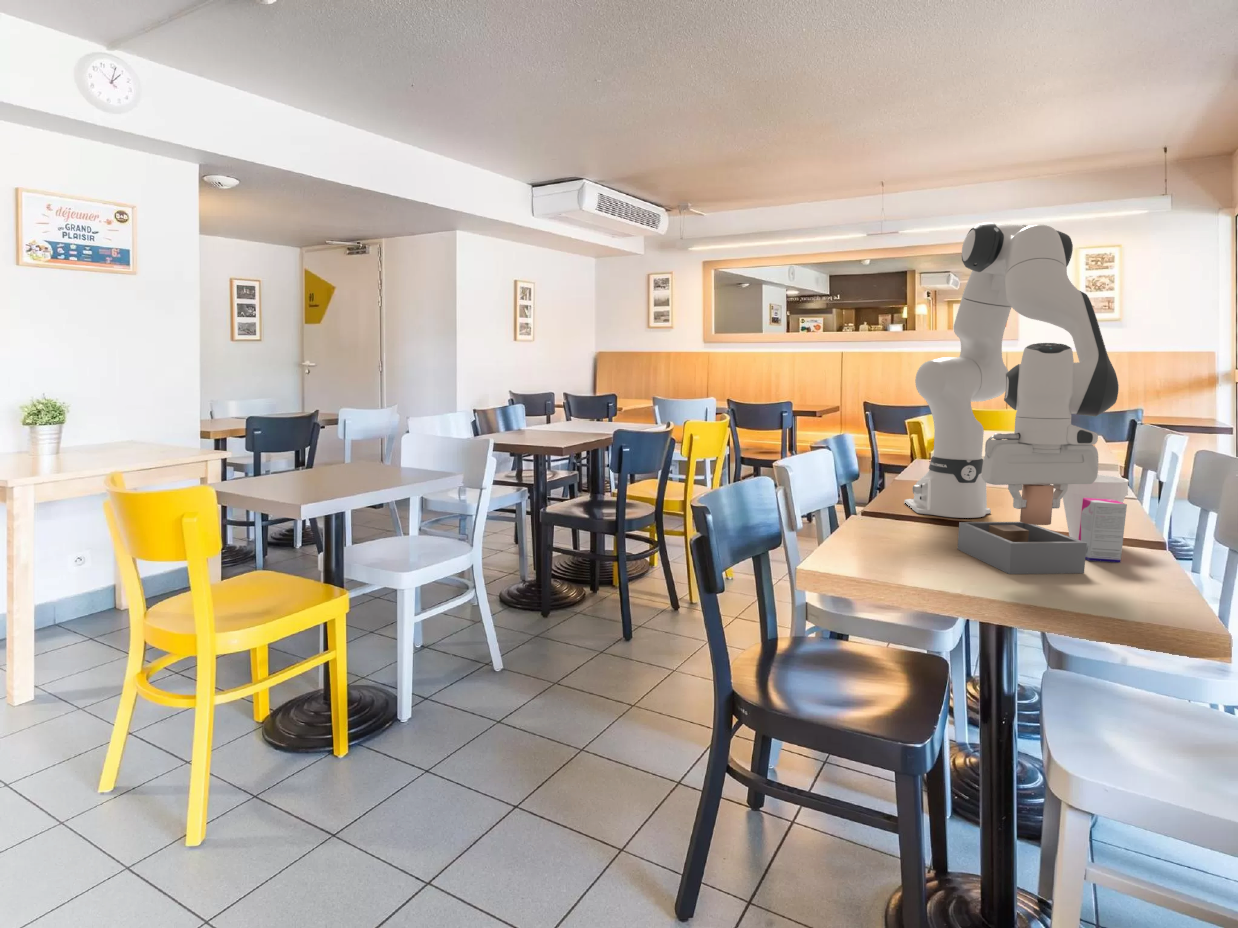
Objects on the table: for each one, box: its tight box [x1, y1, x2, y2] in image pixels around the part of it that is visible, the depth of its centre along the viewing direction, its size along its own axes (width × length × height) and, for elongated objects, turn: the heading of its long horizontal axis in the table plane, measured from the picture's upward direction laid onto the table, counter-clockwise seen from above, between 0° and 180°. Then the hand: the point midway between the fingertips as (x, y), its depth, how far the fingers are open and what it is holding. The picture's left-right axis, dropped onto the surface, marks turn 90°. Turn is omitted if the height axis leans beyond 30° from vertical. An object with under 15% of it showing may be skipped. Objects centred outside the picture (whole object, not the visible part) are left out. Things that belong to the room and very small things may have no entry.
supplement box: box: [1078, 498, 1128, 563], centre depth 143 cm, size 6×6×12 cm
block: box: [989, 525, 1029, 542], centre depth 145 cm, size 5×5×5 cm
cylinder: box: [1019, 484, 1055, 526], centre depth 136 cm, size 5×5×7 cm
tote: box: [957, 521, 1087, 575], centre depth 141 cm, size 18×14×6 cm
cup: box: [1062, 474, 1130, 540], centre depth 157 cm, size 12×12×14 cm
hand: (1036, 508), depth 136 cm, fingers closed on cylinder, 5 cm apart
